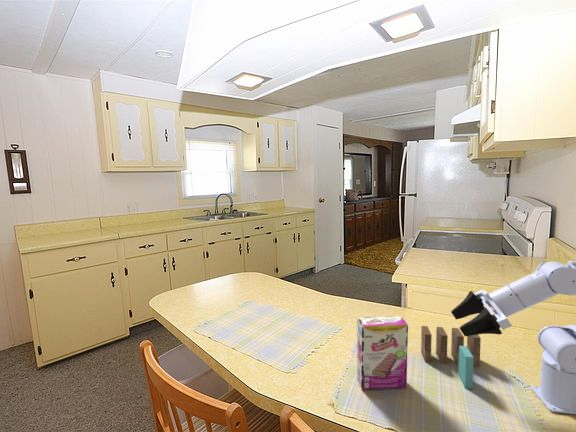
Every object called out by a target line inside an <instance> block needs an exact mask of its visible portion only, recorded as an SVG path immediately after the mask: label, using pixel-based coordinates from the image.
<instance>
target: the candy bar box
mask: <svg viewBox="0 0 576 432" xmlns="http://www.w3.org/2000/svg"><path fill="white" fill-rule="evenodd" d="M356 321H357V322H356V323H357V331H356V332H357V333H356V334H357V335H356V337H357V339H356V341H357V348H356V349H357V353H356V354H357V357H356V359H357V360H356V361H357V365H356V371H357V372H356V375H357V376H356V377H357V381H358V383H359V385H360V388H361V390H362V391H365V390H366V391H367V390H386V389H387V390H388V389H405V388H407V379H408V375H407V374H408V348H409V347H408V344H409V343H408V342H409V341H408V339H409V336H408V335H409V323H407V322H406V320H404V318H403V317H402V316H400V315H399V316H398V315H397V316H378V317H377V316H372V317H371V316H370V317H367V316H365V317H364V316H363V317H357V320H356Z"/></svg>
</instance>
